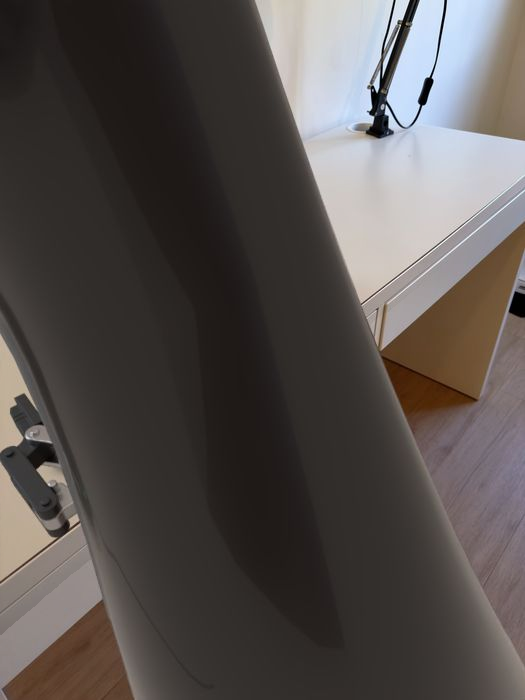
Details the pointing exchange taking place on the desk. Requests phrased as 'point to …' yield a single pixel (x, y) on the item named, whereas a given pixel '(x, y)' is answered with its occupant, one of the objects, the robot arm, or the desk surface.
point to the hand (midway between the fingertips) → (81, 375)
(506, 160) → the desk surface
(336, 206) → the desk surface
